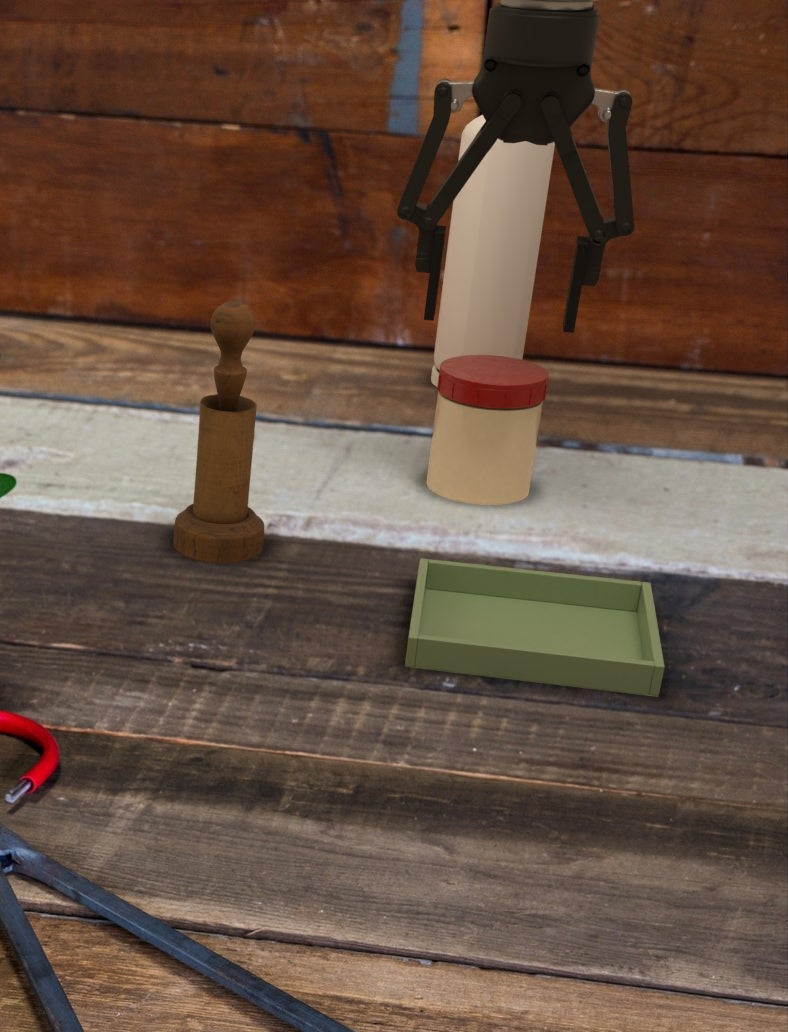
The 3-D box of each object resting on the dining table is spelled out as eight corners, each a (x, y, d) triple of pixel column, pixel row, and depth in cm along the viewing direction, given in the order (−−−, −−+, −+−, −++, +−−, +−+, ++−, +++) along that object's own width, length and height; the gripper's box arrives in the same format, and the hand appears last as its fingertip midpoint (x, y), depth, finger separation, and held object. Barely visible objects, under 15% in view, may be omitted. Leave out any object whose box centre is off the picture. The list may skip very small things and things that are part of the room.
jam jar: (528, 480, 137) (546, 366, 132) (528, 515, 130) (547, 395, 125) (428, 471, 138) (442, 357, 134) (423, 504, 131) (438, 385, 127)
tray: (644, 616, 113) (650, 582, 112) (657, 703, 102) (665, 666, 101) (415, 591, 116) (420, 557, 115) (403, 673, 105) (408, 637, 104)
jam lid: (544, 382, 133) (548, 359, 132) (545, 412, 126) (549, 389, 125) (439, 373, 134) (442, 350, 134) (434, 402, 127) (437, 379, 127)
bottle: (416, 390, 158) (454, 73, 145) (450, 370, 164) (491, 65, 151) (497, 406, 154) (545, 82, 141) (530, 386, 160) (578, 73, 147)
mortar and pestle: (258, 572, 119) (279, 319, 110) (167, 564, 120) (180, 312, 111) (265, 537, 124) (285, 294, 116) (178, 530, 125) (191, 288, 117)
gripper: (708, 6, 118) (647, 322, 129) (388, -10, 122) (355, 297, 133) (718, 16, 112) (654, 348, 122) (380, -1, 116) (346, 321, 126)
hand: (498, 321), depth 128 cm, fingers open, 10 cm apart
